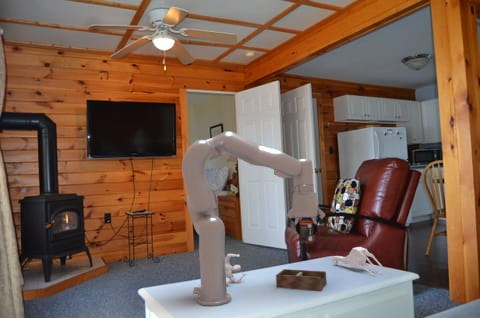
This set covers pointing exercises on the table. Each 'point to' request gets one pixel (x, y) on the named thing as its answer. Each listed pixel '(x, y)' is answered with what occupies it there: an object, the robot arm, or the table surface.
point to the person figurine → (230, 269)
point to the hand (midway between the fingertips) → (307, 233)
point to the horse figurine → (357, 259)
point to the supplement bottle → (306, 230)
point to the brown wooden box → (301, 280)
